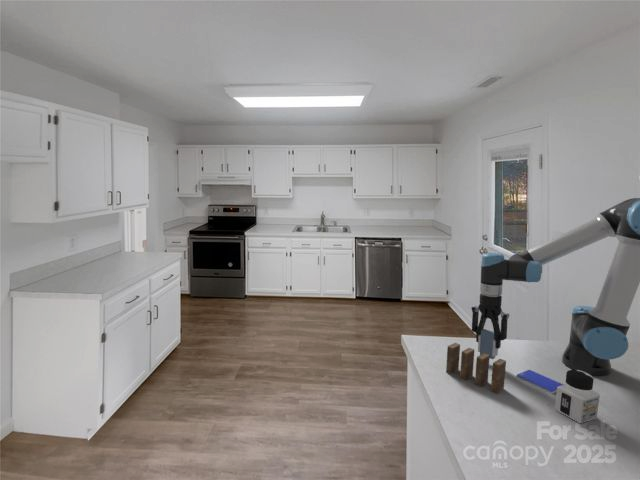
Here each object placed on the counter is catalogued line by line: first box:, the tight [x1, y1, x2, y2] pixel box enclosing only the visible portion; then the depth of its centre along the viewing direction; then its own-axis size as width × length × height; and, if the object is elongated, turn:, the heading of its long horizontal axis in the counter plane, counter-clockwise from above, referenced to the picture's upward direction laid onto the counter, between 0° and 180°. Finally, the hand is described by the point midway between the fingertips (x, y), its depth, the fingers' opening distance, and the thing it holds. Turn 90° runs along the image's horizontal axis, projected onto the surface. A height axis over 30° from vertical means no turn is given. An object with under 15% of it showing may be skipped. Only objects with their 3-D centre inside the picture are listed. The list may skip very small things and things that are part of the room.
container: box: [554, 369, 601, 424], centre depth 109 cm, size 8×8×13 cm
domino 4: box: [490, 358, 507, 395], centre depth 122 cm, size 2×5×10 cm, turn 130°
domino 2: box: [459, 347, 475, 381], centre depth 131 cm, size 2×5×10 cm, turn 130°
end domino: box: [479, 328, 496, 360], centre depth 141 cm, size 2×5×10 cm, turn 39°
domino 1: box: [445, 342, 461, 375], centre depth 135 cm, size 2×5×10 cm, turn 130°
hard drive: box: [515, 369, 565, 395], centre depth 129 cm, size 2×8×12 cm
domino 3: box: [474, 353, 490, 388], centre depth 127 cm, size 2×5×10 cm, turn 130°
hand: (487, 353), depth 142 cm, fingers closed on end domino, 5 cm apart
